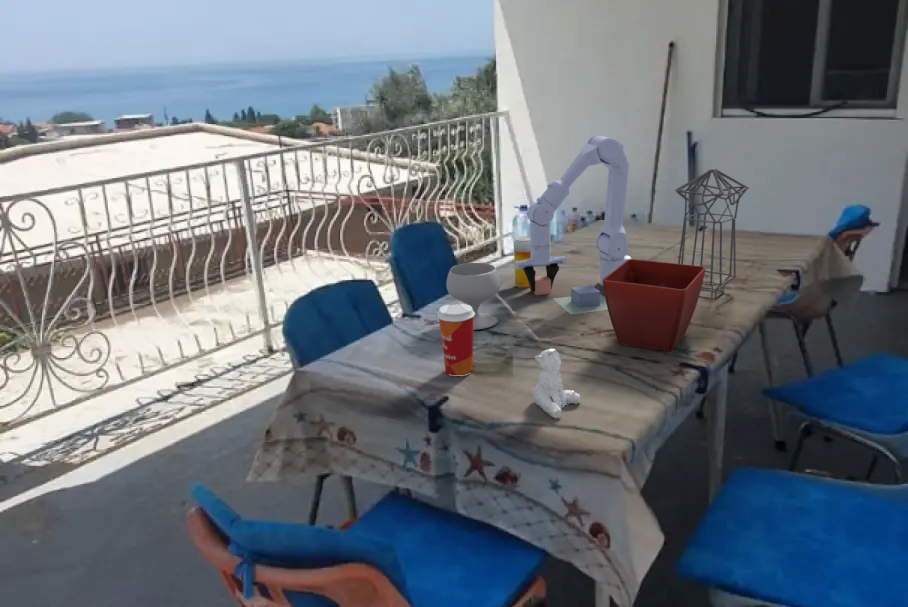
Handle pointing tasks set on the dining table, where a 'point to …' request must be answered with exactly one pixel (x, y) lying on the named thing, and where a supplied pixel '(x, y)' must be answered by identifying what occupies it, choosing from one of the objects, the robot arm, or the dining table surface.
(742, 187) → the geometric lantern
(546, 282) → the top brick
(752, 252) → the dining table surface
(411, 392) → the dining table surface
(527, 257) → the beer can
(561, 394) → the seated beast figurine
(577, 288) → the base brick
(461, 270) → the chalice
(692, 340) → the dining table surface
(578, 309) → the plate
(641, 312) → the plant pot
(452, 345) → the coffee cup
